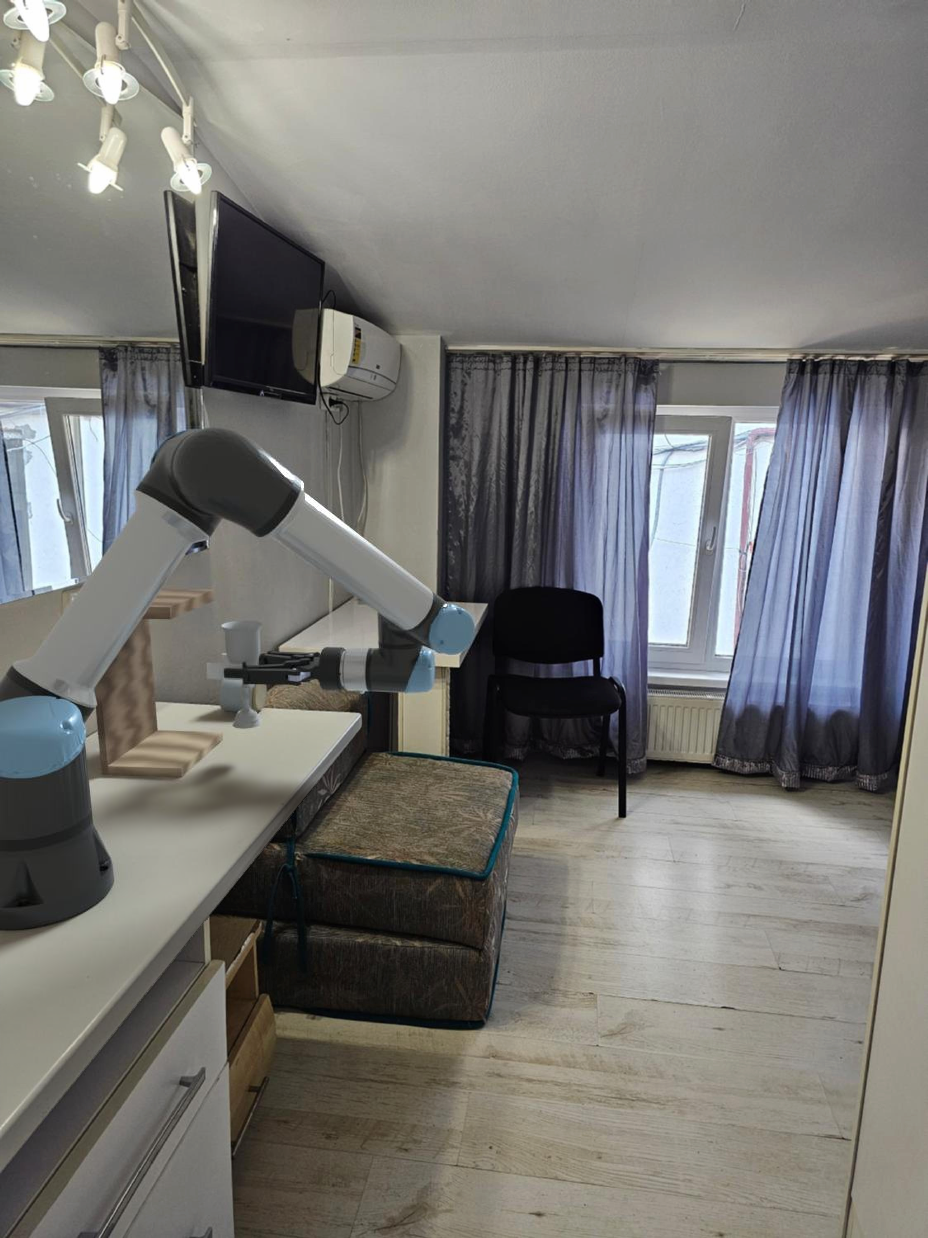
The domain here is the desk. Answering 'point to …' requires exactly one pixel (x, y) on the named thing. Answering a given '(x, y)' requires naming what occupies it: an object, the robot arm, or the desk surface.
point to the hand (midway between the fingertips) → (215, 665)
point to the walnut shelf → (146, 703)
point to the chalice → (241, 648)
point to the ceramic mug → (233, 693)
